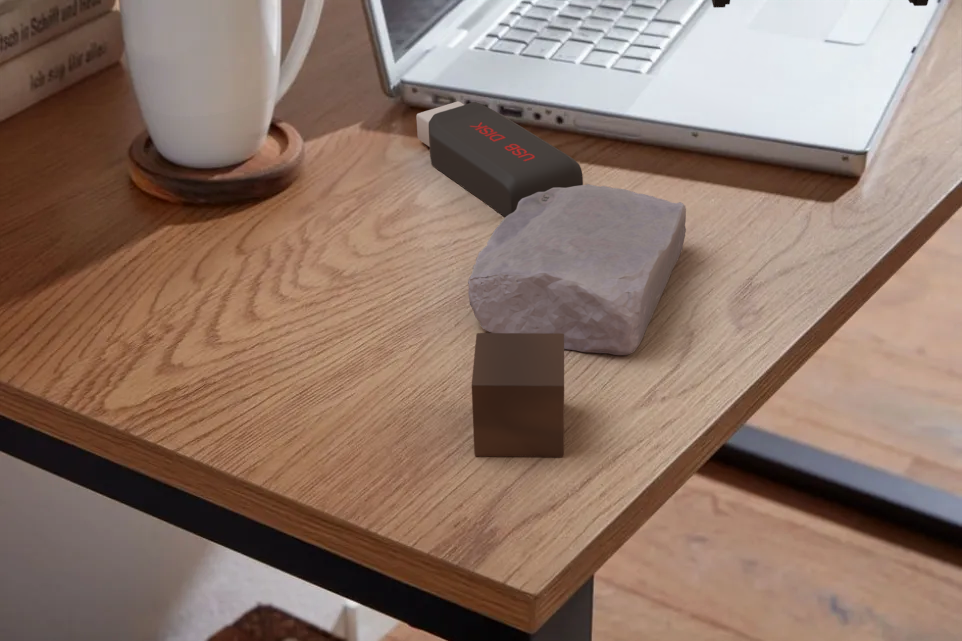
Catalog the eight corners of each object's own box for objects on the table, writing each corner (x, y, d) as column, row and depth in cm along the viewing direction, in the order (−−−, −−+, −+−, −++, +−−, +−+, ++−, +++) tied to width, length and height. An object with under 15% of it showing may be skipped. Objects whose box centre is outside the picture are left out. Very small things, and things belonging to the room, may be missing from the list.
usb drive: (511, 221, 77) (510, 179, 76) (405, 146, 86) (402, 107, 84) (583, 195, 80) (584, 154, 78) (473, 125, 88) (471, 86, 87)
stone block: (462, 363, 69) (651, 363, 65) (441, 281, 66) (636, 276, 63) (531, 256, 78) (699, 250, 74) (515, 181, 76) (688, 171, 72)
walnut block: (563, 402, 63) (564, 332, 61) (563, 457, 60) (564, 385, 57) (479, 402, 63) (476, 332, 61) (474, 456, 60) (471, 384, 58)
